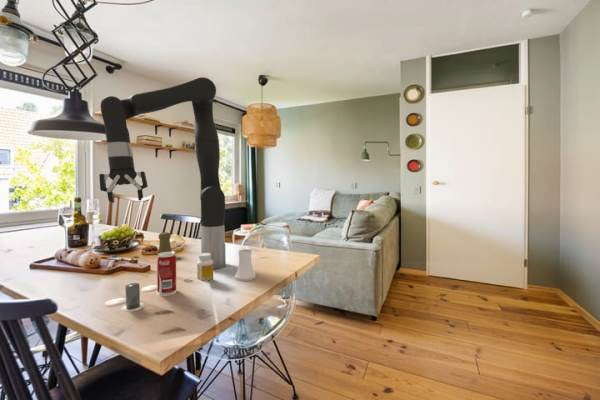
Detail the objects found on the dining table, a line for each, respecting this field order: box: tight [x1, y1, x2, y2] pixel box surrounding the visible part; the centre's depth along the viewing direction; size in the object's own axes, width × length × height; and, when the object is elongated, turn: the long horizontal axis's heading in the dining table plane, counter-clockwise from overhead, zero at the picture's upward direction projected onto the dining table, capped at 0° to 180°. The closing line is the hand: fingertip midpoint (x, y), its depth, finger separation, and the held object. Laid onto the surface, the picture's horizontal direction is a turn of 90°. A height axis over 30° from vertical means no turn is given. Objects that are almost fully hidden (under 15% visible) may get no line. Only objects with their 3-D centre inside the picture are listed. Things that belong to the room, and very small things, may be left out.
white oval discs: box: [103, 284, 178, 313], centre depth 82 cm, size 22×13×1 cm, turn 157°
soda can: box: [156, 251, 177, 296], centre depth 85 cm, size 5×5×12 cm
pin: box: [125, 282, 141, 310], centre depth 75 cm, size 3×3×6 cm
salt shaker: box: [234, 248, 256, 282], centre depth 103 cm, size 8×8×10 cm
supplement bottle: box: [196, 252, 214, 284], centre depth 98 cm, size 5×5×10 cm
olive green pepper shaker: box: [157, 232, 173, 257], centre depth 131 cm, size 6×6×11 cm
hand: (126, 201), depth 100 cm, fingers open, 8 cm apart
